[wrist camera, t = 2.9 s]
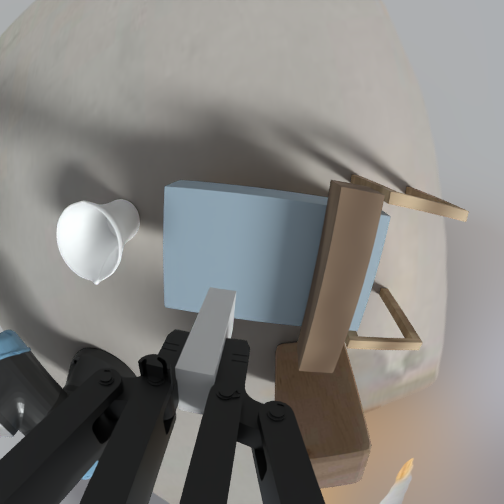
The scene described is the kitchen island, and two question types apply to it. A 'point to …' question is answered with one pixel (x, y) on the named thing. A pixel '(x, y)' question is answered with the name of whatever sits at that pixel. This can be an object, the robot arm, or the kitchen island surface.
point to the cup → (95, 236)
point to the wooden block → (325, 416)
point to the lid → (248, 249)
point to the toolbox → (411, 340)
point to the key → (338, 273)
